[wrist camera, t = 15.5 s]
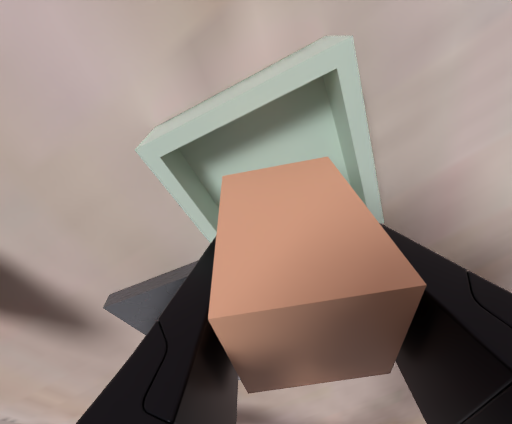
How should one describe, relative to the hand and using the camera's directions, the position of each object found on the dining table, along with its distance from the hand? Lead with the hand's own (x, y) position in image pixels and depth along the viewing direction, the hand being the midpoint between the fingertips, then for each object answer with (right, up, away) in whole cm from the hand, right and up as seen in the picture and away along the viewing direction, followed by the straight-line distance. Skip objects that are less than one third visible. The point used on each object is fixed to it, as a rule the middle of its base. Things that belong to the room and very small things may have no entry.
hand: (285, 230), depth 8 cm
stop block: (0, +1, +1) cm, 1 cm away
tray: (0, +3, +4) cm, 5 cm away
